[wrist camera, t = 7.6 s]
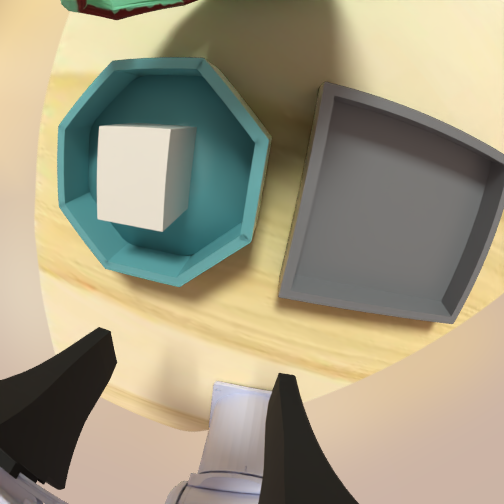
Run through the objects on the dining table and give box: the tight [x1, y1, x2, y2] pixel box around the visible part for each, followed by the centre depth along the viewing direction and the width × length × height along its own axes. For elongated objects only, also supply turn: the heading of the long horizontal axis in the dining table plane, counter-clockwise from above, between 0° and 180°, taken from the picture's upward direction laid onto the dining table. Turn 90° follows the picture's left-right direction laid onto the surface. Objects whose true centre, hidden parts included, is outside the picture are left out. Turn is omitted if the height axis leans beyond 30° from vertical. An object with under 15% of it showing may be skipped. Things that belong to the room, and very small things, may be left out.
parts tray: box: [278, 82, 504, 324], centre depth 15 cm, size 12×13×2 cm
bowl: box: [57, 57, 272, 287], centre depth 16 cm, size 13×13×3 cm
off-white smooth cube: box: [97, 123, 197, 232], centre depth 15 cm, size 5×4×4 cm
